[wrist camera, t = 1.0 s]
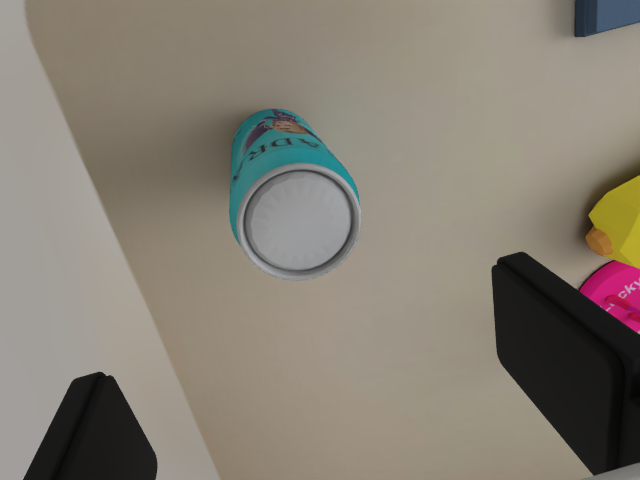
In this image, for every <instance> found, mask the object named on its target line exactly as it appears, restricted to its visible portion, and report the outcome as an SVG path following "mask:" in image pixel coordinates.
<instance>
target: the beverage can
mask: <svg viewBox="0 0 640 480" xmlns="http://www.w3.org/2000/svg"><path fill="white" fill-rule="evenodd" d="M229 213H230V223H231V227H232V231H233V233H234V235H235V238H236V240H237V241H238V243H239V244H240V246H241V247H242V249H243V251H244V253H245V254H246V256H247V257H248V258H249V260H250V261H251V262H252V263H253V264H254V265H255V266H256V267H258V268H259V269H260V270H262V271H263V272H265V273H267V274H269V275H271V276H274V277H276V278H280V279H284V280H293V281H299V280H308V279H313V278H316V277H319V276H322V275H324V274H326V273H328V272H330V271H332V270H333V269H334V268H336V267H337V266H339V265H340V264H341V263H342V262H343V261H344V260H345V259H346V258H347V256H348V255H349V254H350V253H351V251H352V249H353V248H354V246H355V244H356V242H357V239H358V237H359V232H360V228H361V211H360V203H359V195H358V192H357V188H356V186H355V183H354V181H353V179H352V177H351V176H350V175H349V173H348V172H347V170H346V169H345V168H344V167H343V166H342V164H341V163H340V162H339V161H338V160H337V158H336V157H335V156H334V155H333V154H332V153H331V151H330V150H329V149H328V148H327V147H326V145H325V144H324V143H323V142H322V141H321V139H320V138H319V137H318V136H317V135H316V134H315V132H314V131H313V130H312V129H311V128H310V126H309V125H308V124H307V123H306V122H305V121H304V120H303V119H302V118H300V117H299V116H298V115H296V114H294V113H292V112H289V111H286V110H282V109H267V110H262V111H260V112H257V113H255V114H253V115H251V116H250V117H249V118H247V119H246V120H245V121H244V122H243V123H242V124H241V126H240V127H239V129H238V130H237V132H236V134H235V136H234V140H233V144H232V159H231V184H230V209H229Z"/></svg>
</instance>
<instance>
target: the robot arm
mask: <svg viewBox="0 0 640 480" xmlns="http://www.w3.org/2000/svg"><path fill="white" fill-rule="evenodd" d="M492 287H493V302H494V317H495V332H496V348H497V355H498V358H499V360H500V362H501V364H502V366H503V367H504V368H505V369H506V371H507V372H508V373H509V374H510V375H511V377H512V378H513V379H514V380H515V381H516V383H517V384H518V385H519V386H520V387H521V389H522V390H523V391H524V392H525V393H526V395H527V396H528V397H529V398H530V399H531V401H532V402H533V403H534V404H535V405H536V407H537V408H538V409H539V410H540V411H541V413H542V414H543V415H544V416H545V418H546V419H547V420H548V421H549V422H550V424H551V425H552V426H553V427H554V428H555V430H556V431H557V432H558V433H559V434H560V436H561V437H562V438H563V439H564V440H565V442H566V443H567V444H568V445H569V446H570V448H571V449H572V450H573V451H574V452H575V454H576V455H577V456H578V457H579V458H580V460H581V461H582V462H583V463H584V464H585V466H586V467H587V468H588V469H589V471H590V472H591V473H592V474H593V475H594V476H592V477H588V478H585V479H582V480H640V335H639V334H638V333H637V332H635V331H634V330H632V329H631V328H630V327H628V326H627V325H625V324H624V323H623V322H621V321H620V320H618V319H617V318H616V317H614V316H613V315H611V314H610V313H609V312H607V311H606V310H604V309H603V308H602V307H600V306H599V305H597V304H596V303H595V302H593V301H592V300H590V299H589V298H588V297H586V296H585V295H583V294H582V293H581V292H579V291H578V290H576V289H575V288H574V287H572V286H571V285H569V284H568V283H567V282H565V281H564V280H562V279H561V278H560V277H558V276H557V275H556V274H554V273H553V272H551V271H550V270H549V269H547V268H546V267H544V266H543V265H542V264H540V263H539V262H537V261H536V260H535V259H533V258H532V257H530V256H529V255H528V254H526V253H524V252H518V253H514V254H511V255H507V256H504V257H500V258H499V259H498V261H497V265H494V266H493V267H492ZM156 474H157V458H156V455H155V452H154V451H153V449H152V447H151V445H150V443H149V441H148V440H147V438H146V436H145V434H144V432H143V430H142V428H141V427H140V425H139V423H138V421H137V420H136V417H135V415H134V414H133V412H132V410H131V408H130V406H129V404H128V402H127V401H126V399H125V397H124V395H123V393H122V391H121V390H120V388H119V386H118V384H117V382H116V380H115V379H114V377H113V376H110V375H109V376H106V375H105V374H104V373H102V372H97V373H93V374H90V375H86V376H83V377H79V378H76V379H74V380H73V381H72V382H71V385H70V386H69V388H68V390H67V393H66V394H65V396H64V399H63V401H62V402H61V404H60V406H59V408H58V410H57V412H56V415H55V416H54V419H53V420H52V422H51V424H50V426H49V428H48V431H47V433H46V435H45V437H44V439H43V441H42V443H41V445H40V447H39V449H38V451H37V453H36V455H35V457H34V459H33V461H32V463H31V465H30V467H29V469H28V471H27V473H26V475H25V477H24V479H23V480H155V479H156Z"/></svg>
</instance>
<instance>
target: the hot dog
mask: <svg viewBox="0 0 640 480" xmlns="http://www.w3.org/2000/svg"><path fill="white" fill-rule="evenodd" d="M588 216H589V217H590V219H591V221H592V222H593V224H594V226H593V227H592V229H591V230H590V231H589V232H588V234H587V235H586V237H585V238H586V241H587V244H588V246H589V248H590V249H592V250H593V251H594V252H595V253H597V254H599V255H602V256H605V257H608V258H611V259H613V260H616V261H619V262H622V263H624V264H627V265H630V266H633V267H636V268H639V269H640V175H639V176H637V177H635V178H633V179H631V180H630V181H628V182H626V183H624V184H622V185H620V186H618V187H617V188H615V189H613V190H611V191H609V192H608V193H607V194H605V195H604V196H603V197H602V198H601V199H600V200H599V201H598V202H597V204H596V205H595V207H594V208H593V209H592V211H591V212H590V214H589V215H588Z"/></svg>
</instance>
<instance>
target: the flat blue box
mask: <svg viewBox="0 0 640 480" xmlns="http://www.w3.org/2000/svg"><path fill="white" fill-rule="evenodd" d="M638 22H640V0H576V18H575V37H586V36H589V35H593V34H597V33H601V32H604V31H608V30H612V29H616V28H620V27H623V26H627V25H631V24H635V23H638Z"/></svg>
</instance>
